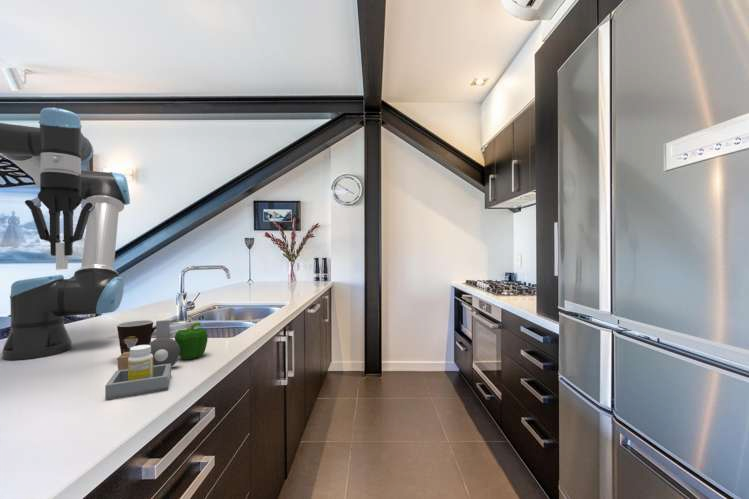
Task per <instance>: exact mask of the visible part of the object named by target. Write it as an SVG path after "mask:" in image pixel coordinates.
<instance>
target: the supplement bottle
mask: <svg viewBox="0 0 749 499" xmlns="http://www.w3.org/2000/svg"><path fill="white" fill-rule="evenodd" d="M150 352H151V346H150V345H139V346H134V347H131V348H130V353H129V354H130V355H131V356H130V357H129V358H128V381H130V380H137V379H144V378H151V377H153V355H152V354H151V353H150Z"/></svg>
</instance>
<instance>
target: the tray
mask: <svg viewBox="0 0 749 499" xmlns="http://www.w3.org/2000/svg"><path fill="white" fill-rule="evenodd" d="M171 378H172V367H171V363H170V364H163V365H155V366H153V377H151V378H144V379H137V380H130V381H128V369H126V370H118V369H117V370H115V372H114V373H113V374H112V375H111V377H110V379H108V380H107V383H106V384H105V385H104V386H105V388H104V389H105V393H104V394H105V396H104V397H105V401H109V400H114V399H116V400H117V399H121V398H127V397H133V396H134V397H135V396H140V395H145V394H152V393H157V392H158V393H160V392H165V391H168V389H169V387H170V382H171Z"/></svg>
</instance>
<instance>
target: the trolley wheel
mask: <svg viewBox="0 0 749 499" xmlns="http://www.w3.org/2000/svg"><path fill="white" fill-rule="evenodd" d="M170 320H171V319H164V320H163V319H162V320H156V323H155V327H156V329H155V332H156V333H155V334H156V335H155V339H154V340H151V342H150V343H149V344H148V345H150V346H151V352H150V353H151V354H152V355H153V366H155V365H163V364H170V363H171V368H172V367H174V365H175V364H176V363H178V359H179V358H180V356H179V353H180V348H179V345H178V343H177V342H176V341H175V339H173V338H171V337H170V336H171V334H170V333H171V332H170V331H171V329H170V326H171V325H170V324H171V322H170Z"/></svg>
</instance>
